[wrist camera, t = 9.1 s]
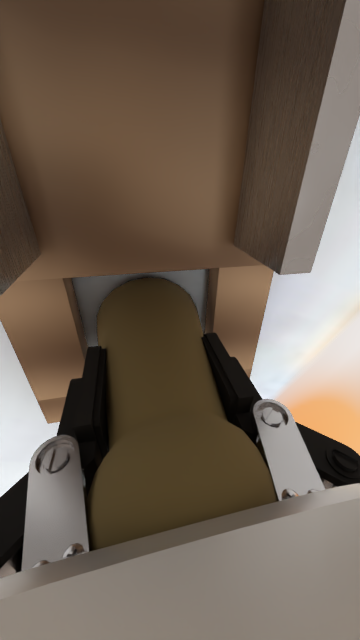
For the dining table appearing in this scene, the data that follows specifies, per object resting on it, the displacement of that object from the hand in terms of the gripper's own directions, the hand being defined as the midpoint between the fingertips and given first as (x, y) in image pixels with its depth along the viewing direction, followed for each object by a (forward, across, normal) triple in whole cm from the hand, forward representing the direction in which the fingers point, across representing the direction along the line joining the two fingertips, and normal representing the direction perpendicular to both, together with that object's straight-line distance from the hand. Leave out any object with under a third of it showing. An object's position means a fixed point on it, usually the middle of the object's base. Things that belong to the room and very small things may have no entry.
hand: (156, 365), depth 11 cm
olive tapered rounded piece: (+4, 0, 0) cm, 4 cm away
